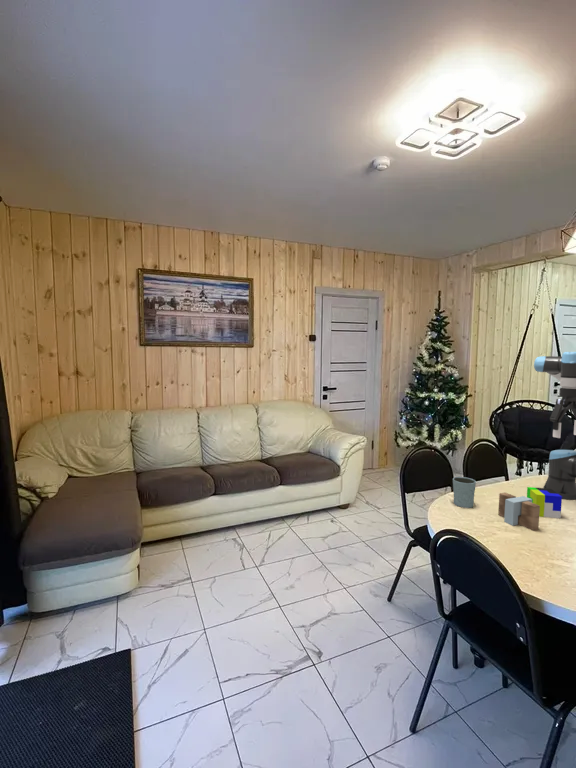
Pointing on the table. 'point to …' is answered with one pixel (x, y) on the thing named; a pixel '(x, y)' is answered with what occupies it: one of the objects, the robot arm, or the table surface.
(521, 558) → the table surface
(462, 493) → the grey cup
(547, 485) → the robot arm
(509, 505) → the grey arch block
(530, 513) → the walnut upright
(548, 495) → the puzzle toy
